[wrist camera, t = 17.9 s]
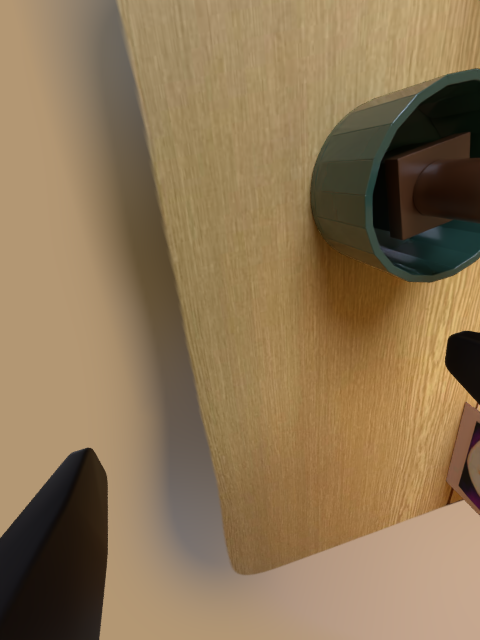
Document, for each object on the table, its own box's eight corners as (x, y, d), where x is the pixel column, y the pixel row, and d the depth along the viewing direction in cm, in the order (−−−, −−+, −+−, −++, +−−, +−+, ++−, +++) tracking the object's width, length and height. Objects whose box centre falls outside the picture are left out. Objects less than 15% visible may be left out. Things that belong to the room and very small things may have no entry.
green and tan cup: (317, 274, 22) (367, 302, 17) (302, 114, 17) (362, 91, 13) (435, 239, 23) (513, 257, 18) (447, 83, 19) (552, 52, 14)
